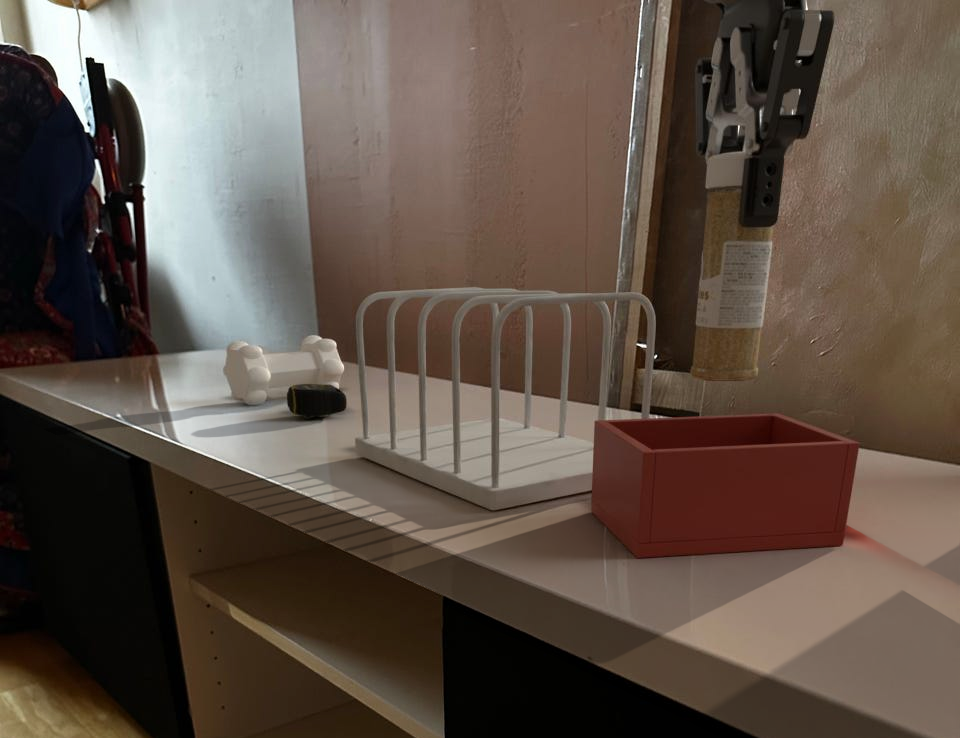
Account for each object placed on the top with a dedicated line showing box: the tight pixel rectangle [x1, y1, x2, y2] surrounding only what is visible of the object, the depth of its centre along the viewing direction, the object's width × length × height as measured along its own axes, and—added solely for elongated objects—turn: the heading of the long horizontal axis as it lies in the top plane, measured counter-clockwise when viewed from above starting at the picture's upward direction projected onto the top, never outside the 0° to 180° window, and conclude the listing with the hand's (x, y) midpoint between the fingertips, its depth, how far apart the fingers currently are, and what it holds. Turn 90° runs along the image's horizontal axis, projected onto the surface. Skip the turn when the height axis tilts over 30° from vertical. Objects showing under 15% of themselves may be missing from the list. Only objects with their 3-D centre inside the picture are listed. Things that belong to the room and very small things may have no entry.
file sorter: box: [354, 287, 657, 511], centre depth 78 cm, size 25×17×16 cm
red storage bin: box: [590, 412, 861, 559], centre depth 62 cm, size 15×12×7 cm
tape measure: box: [286, 384, 348, 420], centre depth 108 cm, size 7×7×4 cm
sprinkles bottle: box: [689, 151, 774, 382], centre depth 56 cm, size 5×5×14 cm
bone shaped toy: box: [222, 334, 345, 406], centre depth 121 cm, size 15×9×8 cm, turn 132°
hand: (739, 227), depth 55 cm, fingers closed on sprinkles bottle, 4 cm apart
